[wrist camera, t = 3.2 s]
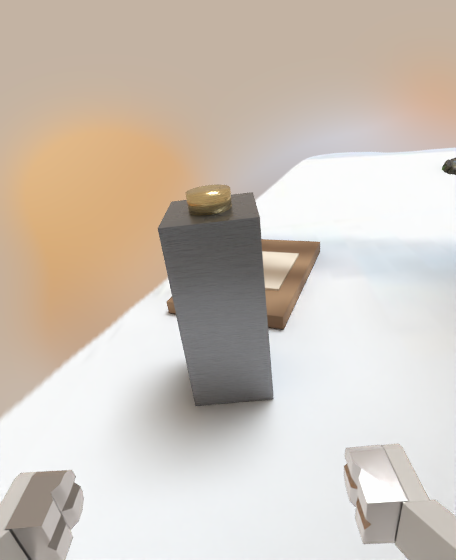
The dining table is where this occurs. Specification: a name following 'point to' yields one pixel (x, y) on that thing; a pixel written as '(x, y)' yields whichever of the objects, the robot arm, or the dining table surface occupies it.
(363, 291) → the dining table surface
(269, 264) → the walnut board
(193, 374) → the block
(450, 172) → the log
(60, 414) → the dining table surface
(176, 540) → the dining table surface
